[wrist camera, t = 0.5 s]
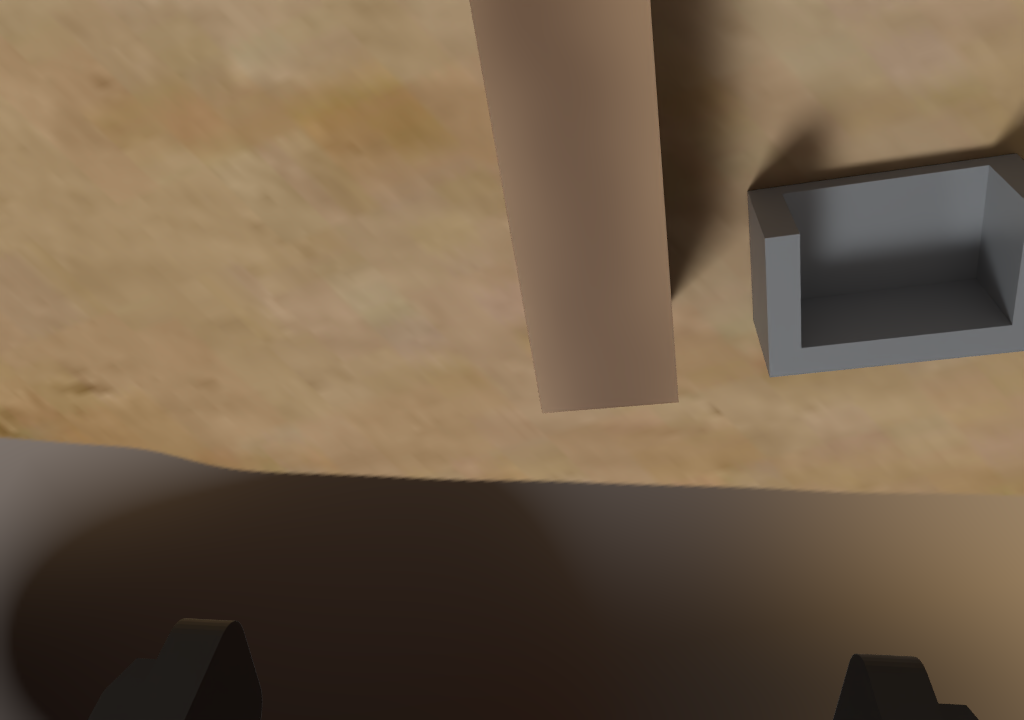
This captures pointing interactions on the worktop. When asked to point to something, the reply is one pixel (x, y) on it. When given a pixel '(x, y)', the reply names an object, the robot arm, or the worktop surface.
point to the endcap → (889, 266)
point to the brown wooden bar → (583, 194)
